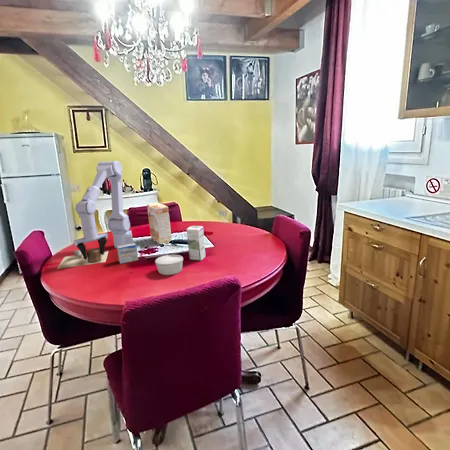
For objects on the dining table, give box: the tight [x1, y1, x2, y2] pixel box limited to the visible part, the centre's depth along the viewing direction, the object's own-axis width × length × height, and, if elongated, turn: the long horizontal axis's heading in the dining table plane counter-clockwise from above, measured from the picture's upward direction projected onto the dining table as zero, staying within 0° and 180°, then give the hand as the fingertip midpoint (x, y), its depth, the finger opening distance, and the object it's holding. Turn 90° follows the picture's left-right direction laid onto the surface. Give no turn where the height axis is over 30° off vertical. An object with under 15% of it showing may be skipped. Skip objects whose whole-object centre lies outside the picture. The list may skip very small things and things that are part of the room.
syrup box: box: [186, 225, 206, 261], centre depth 148 cm, size 6×6×14 cm
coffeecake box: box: [146, 202, 173, 245], centre depth 178 cm, size 15×7×20 cm, turn 29°
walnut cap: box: [86, 247, 101, 264], centre depth 151 cm, size 6×6×5 cm
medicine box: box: [116, 242, 139, 265], centre depth 148 cm, size 8×4×9 cm, turn 118°
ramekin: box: [154, 254, 184, 276], centre depth 137 cm, size 11×11×5 cm
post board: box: [56, 249, 109, 270], centre depth 154 cm, size 20×16×5 cm
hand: (94, 256), depth 151 cm, fingers open, 7 cm apart
